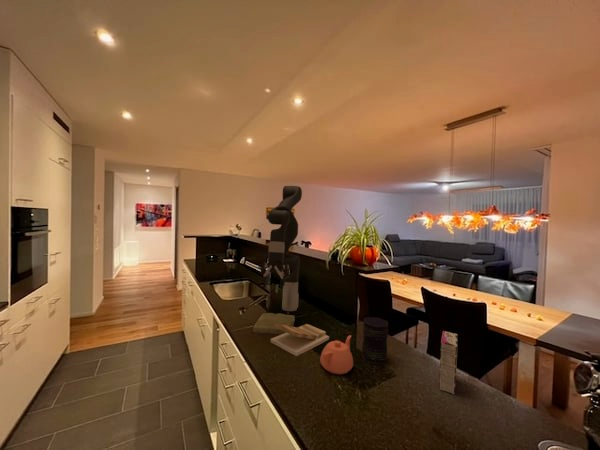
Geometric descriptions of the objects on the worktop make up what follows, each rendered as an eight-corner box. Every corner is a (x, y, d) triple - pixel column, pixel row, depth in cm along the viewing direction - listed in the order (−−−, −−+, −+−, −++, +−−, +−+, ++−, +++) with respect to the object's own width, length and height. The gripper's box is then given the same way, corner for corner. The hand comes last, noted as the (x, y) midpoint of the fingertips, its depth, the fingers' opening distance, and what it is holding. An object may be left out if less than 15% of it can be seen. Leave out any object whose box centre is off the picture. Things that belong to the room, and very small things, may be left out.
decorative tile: (252, 333, 123) (252, 325, 123) (262, 317, 143) (263, 311, 143) (290, 336, 121) (291, 329, 121) (295, 320, 141) (296, 314, 141)
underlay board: (303, 328, 130) (303, 325, 130) (329, 339, 119) (329, 336, 119) (270, 342, 114) (270, 338, 114) (296, 356, 103) (296, 352, 103)
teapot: (310, 368, 95) (311, 342, 95) (337, 351, 109) (338, 329, 108) (337, 383, 87) (338, 355, 87) (363, 363, 100) (364, 339, 100)
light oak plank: (306, 326, 128) (306, 323, 128) (325, 334, 120) (325, 331, 120) (297, 330, 124) (297, 327, 124) (316, 339, 115) (317, 335, 115)
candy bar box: (439, 373, 96) (442, 330, 95) (455, 378, 93) (458, 333, 93) (437, 389, 86) (440, 341, 86) (455, 395, 83) (458, 345, 83)
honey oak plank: (296, 330, 123) (297, 327, 123) (315, 339, 115) (316, 336, 115) (275, 327, 113) (276, 323, 113) (294, 336, 104) (295, 332, 105)
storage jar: (369, 349, 112) (371, 315, 112) (391, 358, 105) (393, 322, 105) (356, 356, 105) (358, 320, 105) (378, 367, 98) (381, 328, 98)
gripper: (293, 252, 123) (290, 287, 121) (267, 250, 128) (264, 283, 127) (286, 252, 116) (283, 288, 114) (259, 250, 121) (256, 284, 120)
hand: (273, 285), depth 120 cm, fingers open, 8 cm apart
